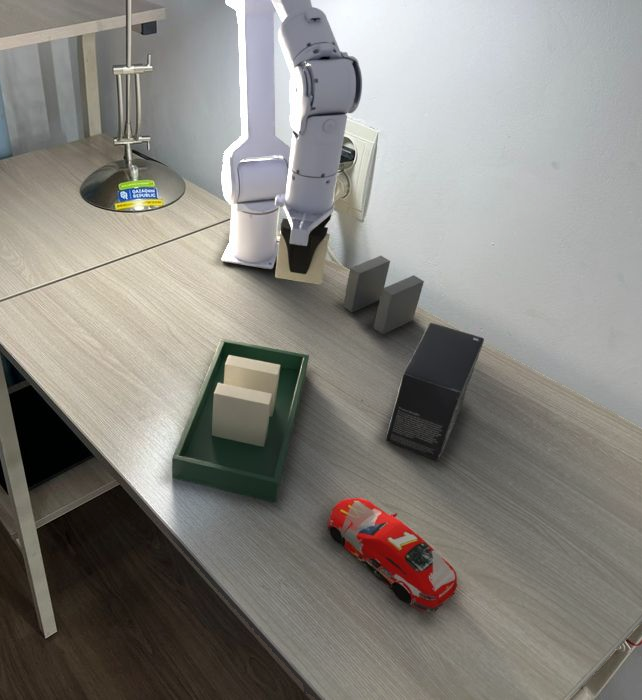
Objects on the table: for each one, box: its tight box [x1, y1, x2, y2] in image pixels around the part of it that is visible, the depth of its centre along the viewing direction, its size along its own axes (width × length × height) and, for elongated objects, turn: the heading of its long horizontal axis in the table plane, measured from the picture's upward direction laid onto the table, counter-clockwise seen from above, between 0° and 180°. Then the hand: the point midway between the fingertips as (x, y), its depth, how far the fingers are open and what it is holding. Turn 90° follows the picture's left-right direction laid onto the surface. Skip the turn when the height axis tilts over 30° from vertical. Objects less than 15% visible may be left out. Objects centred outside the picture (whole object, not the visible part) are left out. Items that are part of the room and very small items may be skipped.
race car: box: [327, 497, 458, 613], centre depth 65 cm, size 13×5×4 cm, turn 37°
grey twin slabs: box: [342, 255, 425, 335], centre depth 95 cm, size 8×6×6 cm
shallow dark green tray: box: [171, 338, 310, 503], centre depth 80 cm, size 21×11×3 cm, turn 163°
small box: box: [385, 322, 485, 461], centre depth 77 cm, size 11×6×10 cm, turn 149°
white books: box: [212, 355, 281, 447], centre depth 78 cm, size 7×6×6 cm
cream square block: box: [274, 231, 331, 285], centre depth 88 cm, size 2×6×6 cm, turn 74°
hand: (299, 266), depth 89 cm, fingers closed on cream square block, 2 cm apart
